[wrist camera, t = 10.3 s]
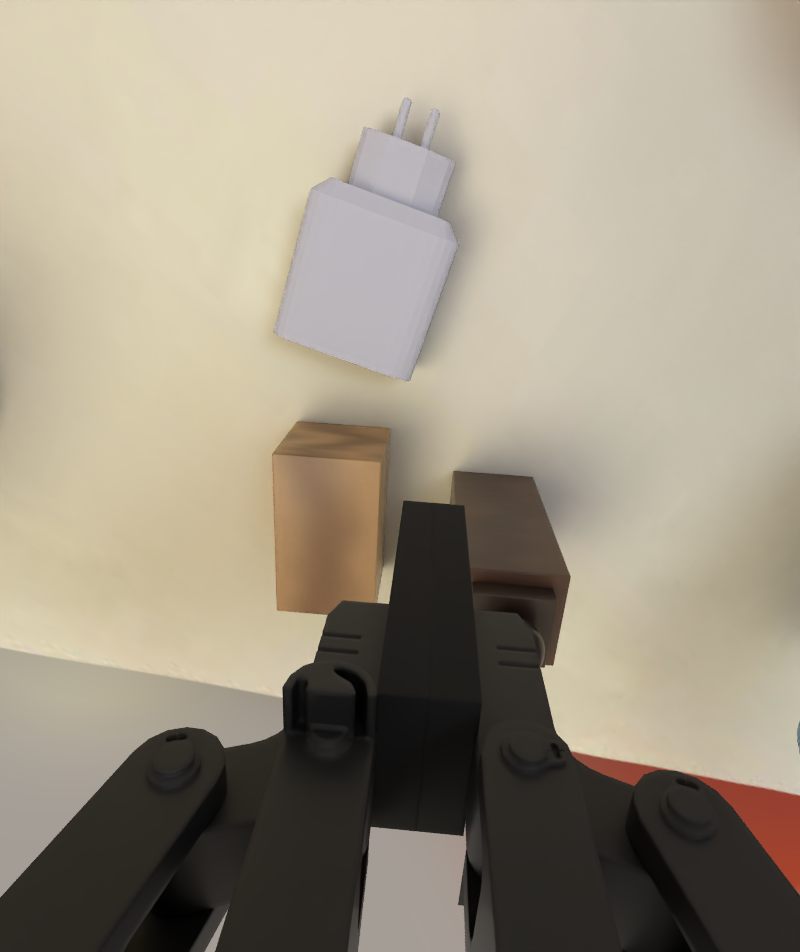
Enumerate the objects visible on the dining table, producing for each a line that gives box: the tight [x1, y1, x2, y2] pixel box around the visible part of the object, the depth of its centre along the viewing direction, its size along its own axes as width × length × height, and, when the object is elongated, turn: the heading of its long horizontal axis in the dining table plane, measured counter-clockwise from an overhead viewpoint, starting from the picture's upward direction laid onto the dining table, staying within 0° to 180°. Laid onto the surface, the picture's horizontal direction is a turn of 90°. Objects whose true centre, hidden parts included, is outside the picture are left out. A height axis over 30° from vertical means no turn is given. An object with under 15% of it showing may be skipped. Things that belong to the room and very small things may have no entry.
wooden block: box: [272, 422, 390, 615], centre depth 43 cm, size 7×12×7 cm, turn 177°
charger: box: [274, 98, 459, 381], centre depth 36 cm, size 5×9×15 cm
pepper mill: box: [450, 471, 570, 668], centre depth 38 cm, size 14×6×17 cm
